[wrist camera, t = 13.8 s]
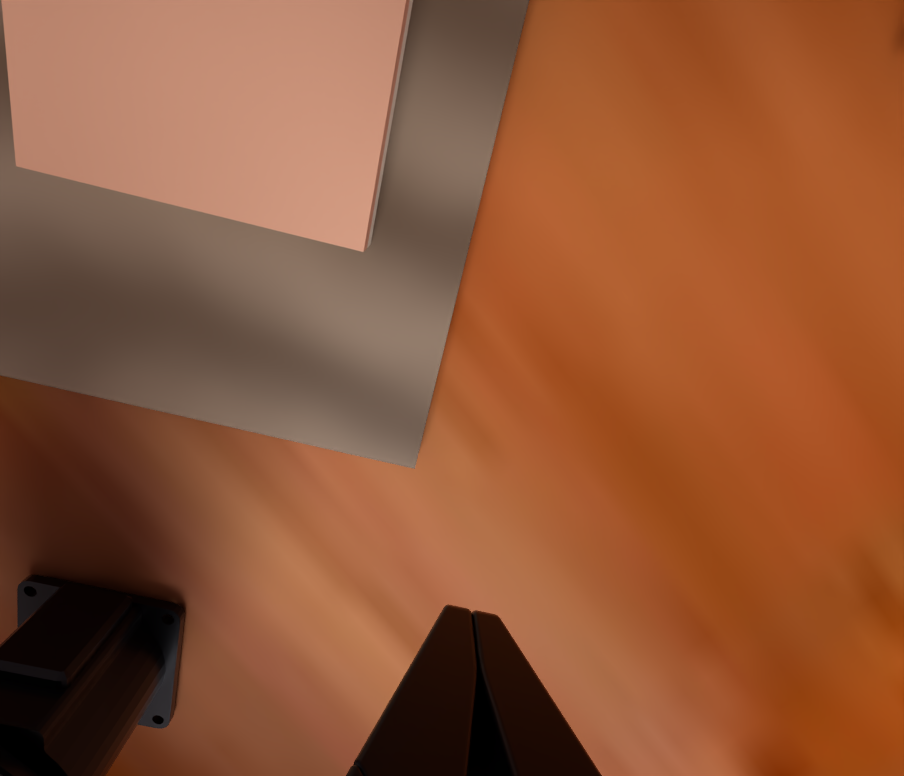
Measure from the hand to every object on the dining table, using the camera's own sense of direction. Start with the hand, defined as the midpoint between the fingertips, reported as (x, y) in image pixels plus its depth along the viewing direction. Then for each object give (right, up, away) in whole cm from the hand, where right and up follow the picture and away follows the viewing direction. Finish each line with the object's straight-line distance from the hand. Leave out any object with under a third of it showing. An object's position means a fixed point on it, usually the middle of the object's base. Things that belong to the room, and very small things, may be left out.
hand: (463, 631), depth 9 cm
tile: (-7, +12, +6) cm, 15 cm away
